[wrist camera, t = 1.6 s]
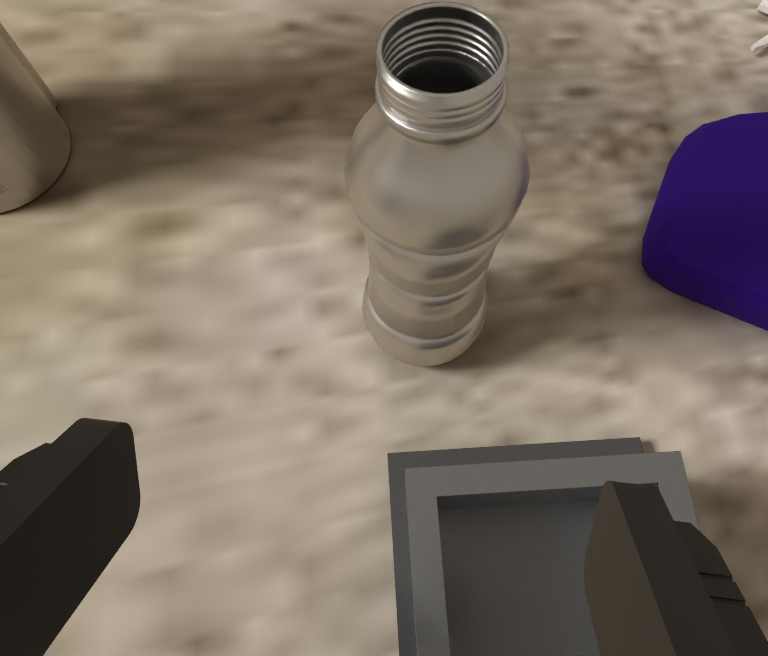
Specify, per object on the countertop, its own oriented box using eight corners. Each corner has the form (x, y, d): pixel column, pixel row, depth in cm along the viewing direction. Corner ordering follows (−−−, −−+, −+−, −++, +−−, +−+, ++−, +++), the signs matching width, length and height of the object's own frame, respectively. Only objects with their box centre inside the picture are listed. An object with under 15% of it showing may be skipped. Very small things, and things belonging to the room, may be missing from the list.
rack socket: (388, 456, 33) (383, 427, 26) (633, 441, 33) (689, 407, 26) (408, 798, 27) (408, 868, 21) (704, 781, 27) (799, 846, 20)
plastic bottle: (375, 267, 37) (342, -44, 18) (487, 281, 36) (571, -25, 18) (356, 368, 35) (297, 127, 16) (476, 385, 34) (558, 155, 15)
